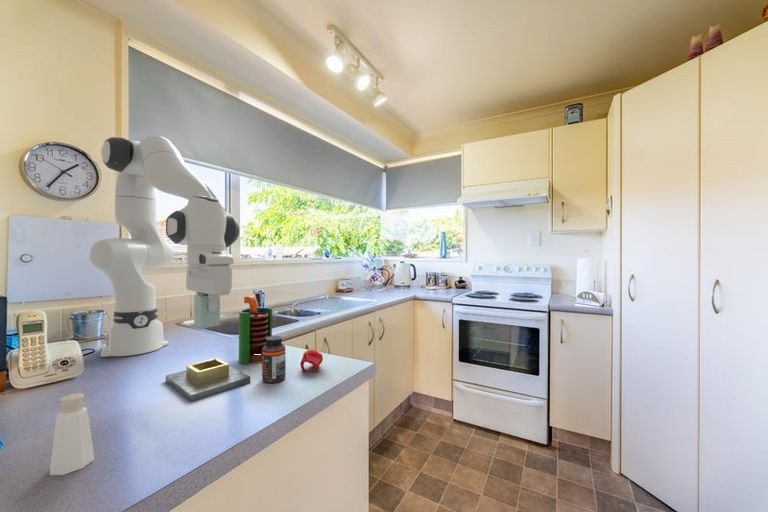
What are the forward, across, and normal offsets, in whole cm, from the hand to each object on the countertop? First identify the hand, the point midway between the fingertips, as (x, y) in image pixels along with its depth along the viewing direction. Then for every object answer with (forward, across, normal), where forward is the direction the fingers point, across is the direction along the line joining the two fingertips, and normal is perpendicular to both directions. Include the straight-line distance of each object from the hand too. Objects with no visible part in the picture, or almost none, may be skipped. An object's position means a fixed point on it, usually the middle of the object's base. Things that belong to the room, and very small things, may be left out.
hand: (207, 309), depth 82 cm
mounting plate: (+19, 0, 0) cm, 19 cm away
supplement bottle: (+19, +12, +12) cm, 26 cm away
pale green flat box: (+4, 0, 0) cm, 4 cm away
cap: (+19, +14, +23) cm, 33 cm away
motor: (+19, -8, +17) cm, 27 cm away
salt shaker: (+19, +18, -27) cm, 38 cm away
